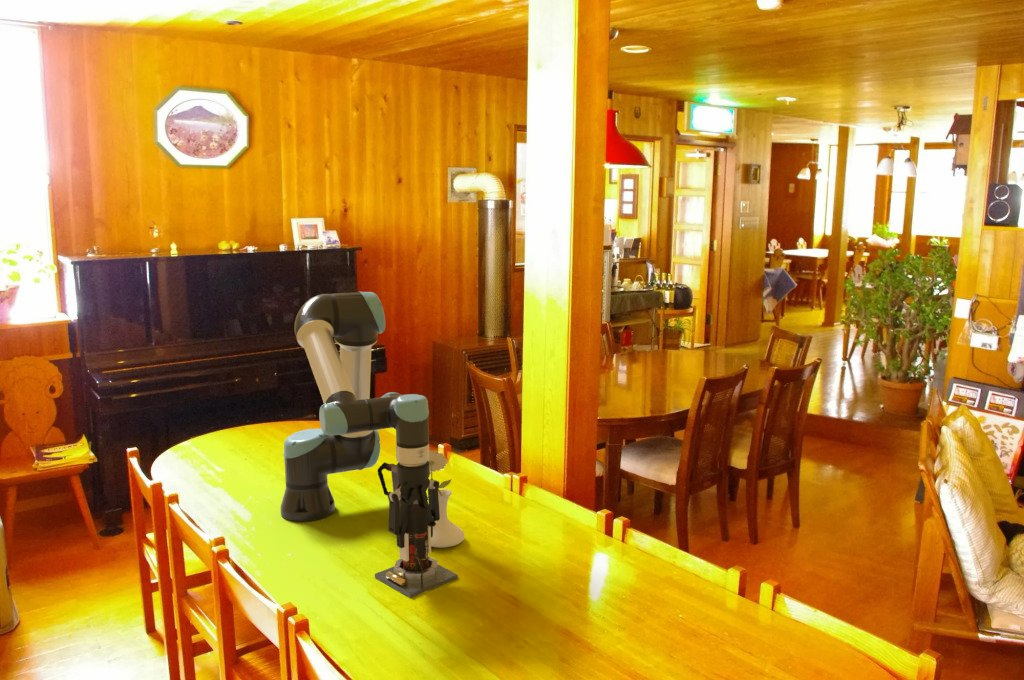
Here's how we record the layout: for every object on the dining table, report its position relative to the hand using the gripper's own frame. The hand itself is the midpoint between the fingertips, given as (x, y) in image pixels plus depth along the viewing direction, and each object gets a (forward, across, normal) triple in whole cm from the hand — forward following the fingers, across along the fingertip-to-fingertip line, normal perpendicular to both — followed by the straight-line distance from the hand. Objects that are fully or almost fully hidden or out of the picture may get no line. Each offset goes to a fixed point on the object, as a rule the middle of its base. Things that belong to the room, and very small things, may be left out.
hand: (415, 554), depth 197 cm
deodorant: (+4, 0, 0) cm, 4 cm away
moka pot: (+6, +16, +26) cm, 31 cm away
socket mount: (+6, 0, 0) cm, 6 cm away
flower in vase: (+6, +17, +12) cm, 22 cm away
